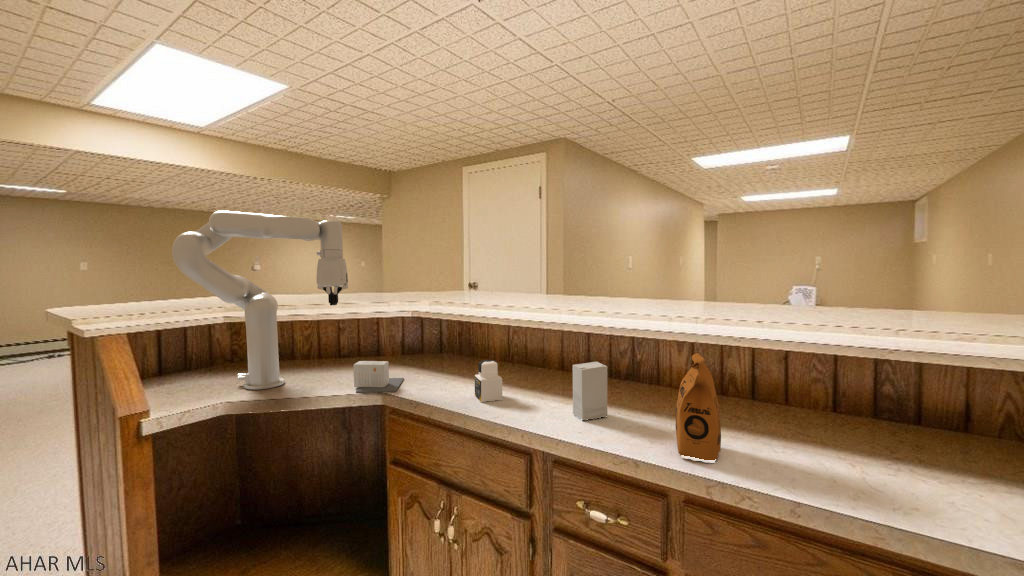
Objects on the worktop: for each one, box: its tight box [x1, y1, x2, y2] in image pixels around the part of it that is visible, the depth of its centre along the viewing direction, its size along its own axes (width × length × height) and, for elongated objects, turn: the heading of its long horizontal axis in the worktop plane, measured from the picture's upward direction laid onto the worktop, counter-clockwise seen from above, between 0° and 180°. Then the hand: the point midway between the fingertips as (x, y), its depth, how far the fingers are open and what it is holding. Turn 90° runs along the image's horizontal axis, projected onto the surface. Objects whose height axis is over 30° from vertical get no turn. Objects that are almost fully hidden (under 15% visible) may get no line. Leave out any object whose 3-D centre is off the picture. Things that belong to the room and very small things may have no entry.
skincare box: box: [572, 361, 608, 420], centre depth 130 cm, size 8×6×15 cm
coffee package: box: [674, 352, 722, 460], centre depth 106 cm, size 10×12×22 cm
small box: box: [353, 360, 390, 388], centre depth 160 cm, size 8×6×10 cm
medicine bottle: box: [474, 359, 503, 403], centre depth 147 cm, size 7×7×12 cm
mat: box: [355, 377, 405, 394], centre depth 162 cm, size 13×16×1 cm
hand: (333, 304), depth 171 cm, fingers closed
